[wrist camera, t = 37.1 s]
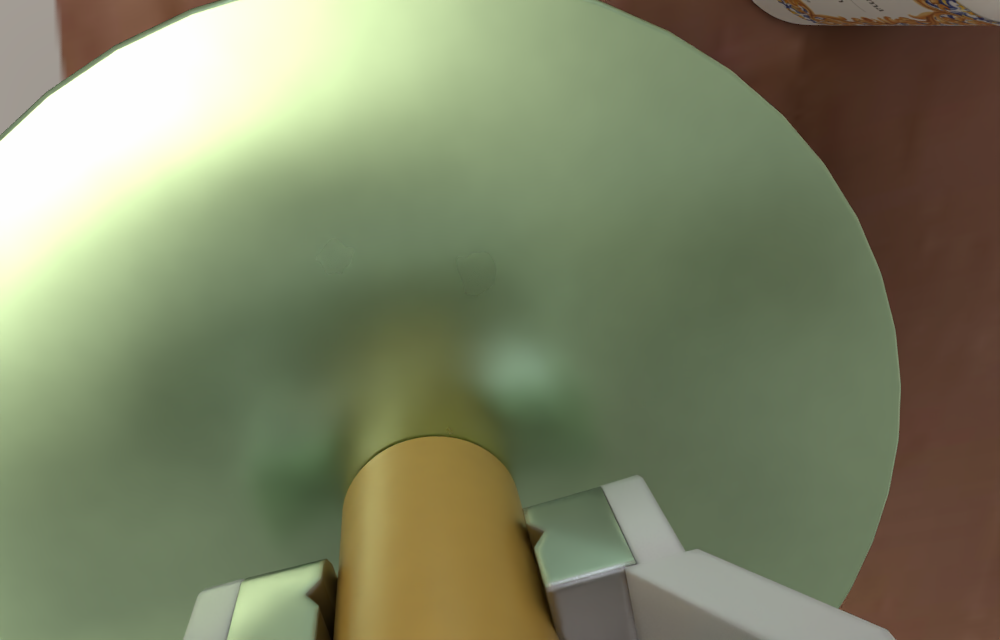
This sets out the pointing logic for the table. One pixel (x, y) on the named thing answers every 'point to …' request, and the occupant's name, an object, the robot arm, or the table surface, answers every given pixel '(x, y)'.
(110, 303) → the tin lid
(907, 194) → the table surface
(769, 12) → the bath foam
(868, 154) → the table surface
